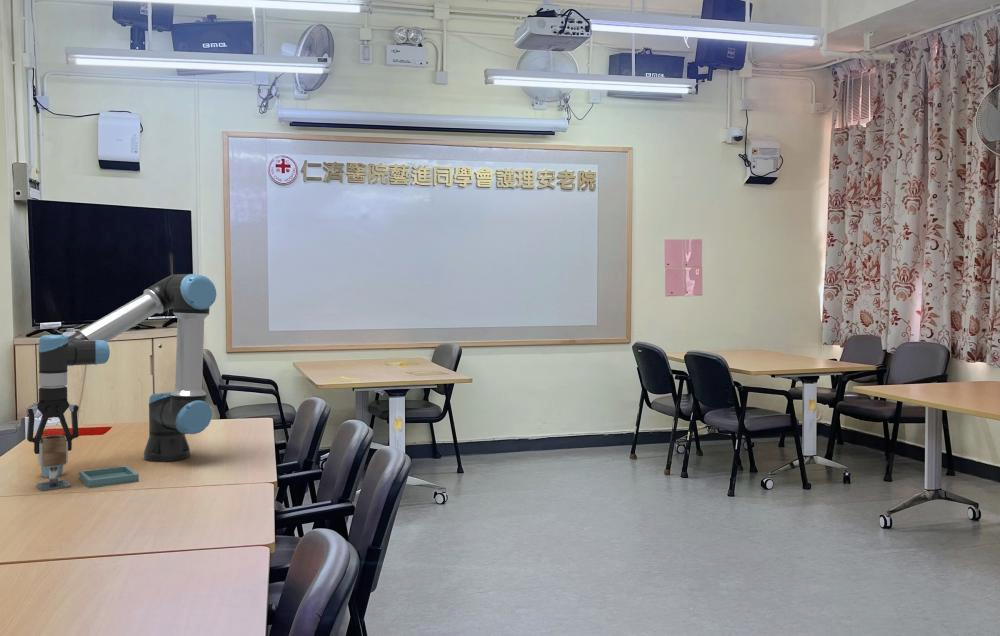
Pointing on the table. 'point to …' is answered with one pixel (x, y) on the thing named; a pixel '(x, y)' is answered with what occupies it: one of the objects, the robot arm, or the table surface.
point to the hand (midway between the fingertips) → (53, 462)
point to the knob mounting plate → (53, 481)
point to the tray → (108, 476)
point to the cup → (46, 470)
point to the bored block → (53, 450)
